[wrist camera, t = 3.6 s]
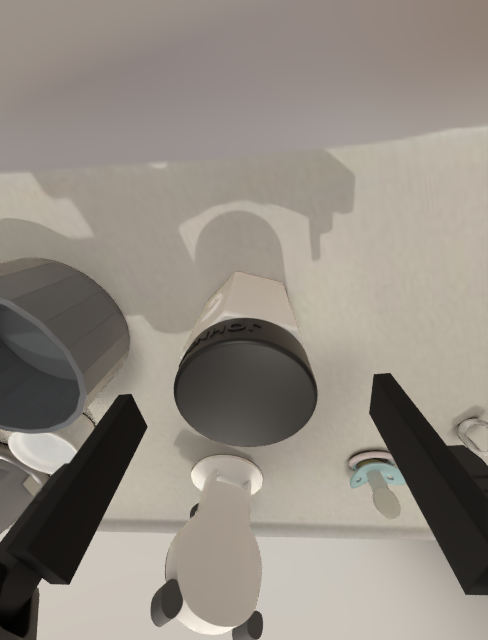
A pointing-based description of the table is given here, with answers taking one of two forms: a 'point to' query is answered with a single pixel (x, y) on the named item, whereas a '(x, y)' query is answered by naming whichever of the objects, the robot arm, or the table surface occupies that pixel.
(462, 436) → the pale grey ring
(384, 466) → the pacifier
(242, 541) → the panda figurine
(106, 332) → the grey round bowl
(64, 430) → the ramekin
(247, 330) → the jar
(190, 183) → the table surface
